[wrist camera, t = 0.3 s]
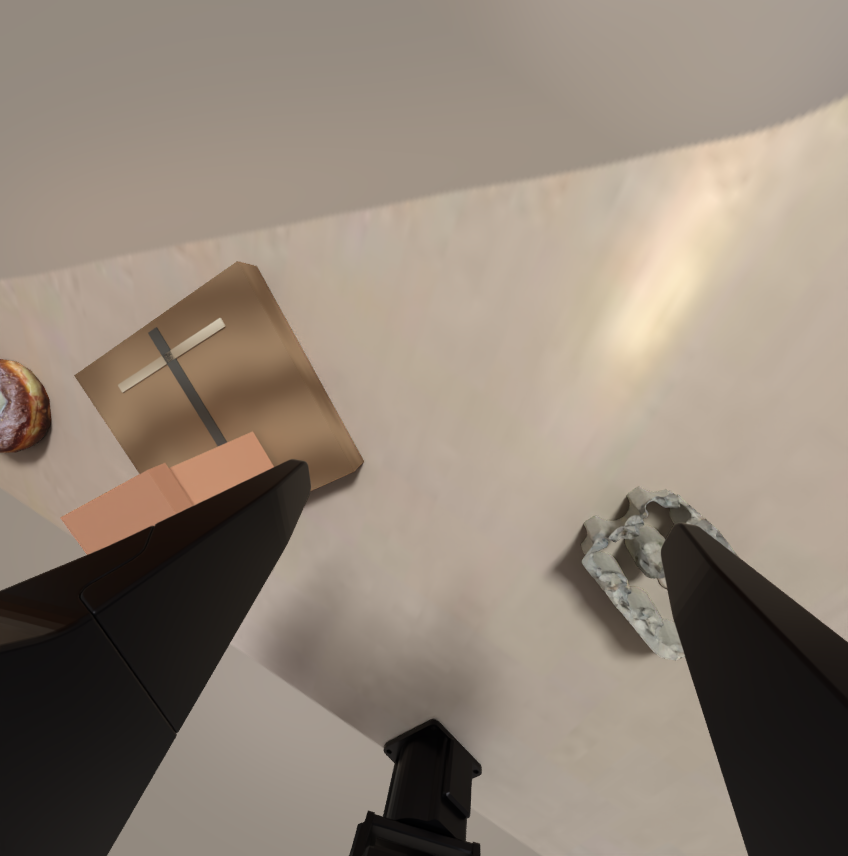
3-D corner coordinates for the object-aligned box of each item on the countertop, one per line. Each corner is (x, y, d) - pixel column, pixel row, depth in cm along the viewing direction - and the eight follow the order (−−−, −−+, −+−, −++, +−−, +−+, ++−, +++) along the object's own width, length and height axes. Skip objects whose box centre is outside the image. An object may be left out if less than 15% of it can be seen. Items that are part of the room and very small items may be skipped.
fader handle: (281, 471, 26) (189, 534, 18) (211, 504, 27) (101, 574, 20) (253, 425, 25) (147, 470, 17) (185, 462, 27) (60, 517, 19)
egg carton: (754, 586, 25) (804, 635, 21) (650, 634, 27) (677, 686, 23) (662, 466, 24) (696, 494, 20) (561, 527, 26) (574, 562, 22)
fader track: (364, 461, 27) (353, 472, 25) (206, 532, 31) (186, 546, 29) (256, 266, 25) (236, 261, 23) (101, 372, 29) (72, 375, 27)
